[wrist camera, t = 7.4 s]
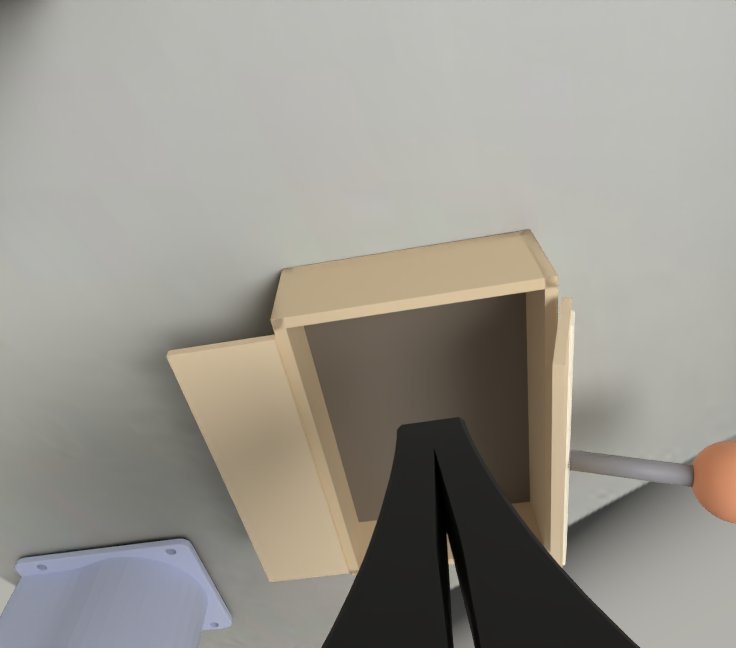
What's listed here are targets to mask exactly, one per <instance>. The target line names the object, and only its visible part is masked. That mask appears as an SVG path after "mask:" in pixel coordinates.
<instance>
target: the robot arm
mask: <svg viewBox="0 0 736 648" xmlns="http://www.w3.org/2000/svg"><path fill="white" fill-rule="evenodd" d="M447 535H448V539H449V543H450V547H451V551H452V555H453V559H454V563H455V568H456V572H457V576H458V580H459V584H460V588H461V592H462V596H463V600H464V604H465V608H466V612H467V616H468V620H469V624H470V628H471V632H472V636H473V641H474V646H475V648H640V647H639V646H638V645H637V644H635V643H634V642H633V641H632V640H631V639H630V638H629V637H628V636H627V635H626V634H625V633H624V632H623V631H622V630H621V629H620V628H619V627H618V626H617V625H616V624H615V623H614V622H613V621H612V620H611V619H610V618H609V617H608V616H607V615H606V614H605V613H604V612H603V611H602V610H601V609H600V608H599V607H598V606H597V605H596V604H595V603H594V602H593V601H592V600H591V599H590V598H589V597H588V596H587V595H586V594H585V593H584V592H583V591H582V590H581V589H580V587H579V586H578V585H577V584H576V583H575V582H574V581H573V580H572V579H571V578H570V576H569V575H568V574H567V573H566V572H565V571H564V570H563V569H562V567H561V566H560V565H559V564H558V563H557V562H556V560H555V559H554V558H553V557H552V556H551V555H550V553H549V552H548V551H547V550H546V549H545V547H544V546H543V545H542V544H541V542H540V541H539V540H538V539H537V537H536V536H535V535H534V534H533V532H532V531H531V530H530V528H529V527H528V526H527V524H526V523H525V522H524V520H523V519H522V518H521V516H520V515H519V514H518V512H517V511H516V510H515V508H514V507H513V505H512V504H511V503H510V501H509V500H508V498H507V497H506V495H505V494H504V492H503V491H502V489H501V488H500V486H499V485H498V483H497V482H496V480H495V479H494V477H493V475H492V474H491V472H490V471H489V469H488V467H487V466H486V464H485V462H484V460H483V459H482V457H481V455H480V453H479V452H478V450H477V448H476V446H475V444H474V442H473V440H472V438H471V436H470V433H469V431H468V429H467V426H466V423H465V420H463V419H461V418H460V417H455V418H447V419H440V420H432V421H425V422H418V423H410V424H403V425H401V426H400V427H399V428H398V429H397V439H396V447H395V454H394V460H393V465H392V469H391V474H390V478H389V482H388V486H387V489H386V493H385V497H384V500H383V504H382V507H381V511H380V514H379V517H378V520H377V523H376V526H375V528H374V531H373V534H372V537H371V540H370V543H369V546H368V548H367V551H366V554H365V556H364V559H363V561H362V564H361V566H360V569H359V571H358V573H357V576H356V578H355V580H354V583H353V585H352V587H351V589H350V592H349V594H348V596H347V598H346V600H345V602H344V604H343V606H342V608H341V610H340V612H339V615H338V617H337V619H336V621H335V623H334V625H333V627H332V629H331V631H330V633H329V634H328V636H327V638H326V640H325V642H324V644H323V646H322V647H321V648H454V647H453V635H452V617H451V599H450V581H449V564H448V546H447ZM14 568H15V570H16V571H17V573H18V574H19V575H20V576H21V579H20V580H19V582H18V584H17V586H16V588H15V590H14V592H13V594H12V596H11V597H10V599H9V601H8V603H7V605H6V607H5V609H4V610H3V612H2V614H1V616H0V648H198V645H199V641H200V636H201V632H202V631H203V630H212V629H221V628H228V627H229V626H231V624H232V616H231V614H230V612H229V611H228V609H227V607H226V605H225V603H224V602H223V600H222V598H221V596H220V594H219V592H218V591H217V589H216V587H215V585H214V583H213V582H212V580H211V578H210V576H209V574H208V573H207V571H206V569H205V567H204V565H203V564H202V562H201V560H200V558H199V556H198V555H197V553H196V551H195V549H194V547H193V546H192V544H191V543H190V542H189V541H188V540H186V539H172V540H164V541H155V542H147V543H139V544H131V545H123V546H115V547H107V548H99V549H90V550H82V551H74V552H66V553H58V554H50V555H42V556H34V557H25V558H21V559H19V560H18V561H17V562H16V564H15V567H14Z"/></svg>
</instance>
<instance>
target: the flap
mask: <svg viewBox="0 0 736 648" xmlns="http://www.w3.org/2000/svg"><path fill="white" fill-rule="evenodd" d="M574 324H575V311H572V298H567V297H562V298H561V306H560V313H559V321H558V328H557V335H556V343H555V350H554V358H553V369H552V460H551V551H550V555H551V556H552V557H553V558H554V559H555V560H556V562H557V563H558V564H559V565H560V566H561V567H562V569H563V565H565V559H566V545H567V518H568V491H569V463H570V470H573V471H581V472H588V473H595V474H602V475H610V476H617V477H624V478H631V479H639V480H646V481H653V482H661V483H668V484H675V485H682V486H690V487H692V490H693V492H694V494H695V496H696V498H697V499H698V501H699V502H700V504H701V505H702V506H703V507H704V508H705V509H706V510H707V511H709V512H710V513H711V514H713V515H714V516H716V517H718V518H720V519H722V520H725V521H728V522H731V523H735V524H736V441H723V442H718V443H715V444H712V445H710V446H708V447H706V448H705V449H704V450H702V451H701V452H700V453H699V454H698V455H697V457H696V458H695V460H694V462H693V464H692V465H687V464H679V463H671V462H663V461H655V460H647V459H639V458H631V457H623V456H615V455H607V454H599V453H591V452H583V451H575V450H571V458H570V435H571V408H572V380H573V352H574Z"/></svg>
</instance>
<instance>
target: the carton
mask: <svg viewBox="0 0 736 648" xmlns="http://www.w3.org/2000/svg"><path fill="white" fill-rule="evenodd" d="M270 320H271V324H272V327H273V330H274V333H275V335H268V336H262V337H255V338H248V339H242V340H235V341H228V342H222V343H215V344H209V345H202V346H195V347H189V348H182V349H176V350H169V351H168V353H167V355H166V357H167V359H168V361H169V363H170V365H171V368H172V370H173V372H174V374H175V376H176V379H177V381H178V383H179V385H180V387H181V389H182V392H183V394H184V396H185V398H186V400H187V403H188V405H189V407H190V409H191V411H192V413H193V416H194V418H195V420H196V422H197V424H198V427H199V429H200V431H201V433H202V435H203V437H204V440H205V442H206V444H207V446H208V448H209V451H210V453H211V455H212V457H213V459H214V461H215V464H216V466H217V468H218V470H219V472H220V474H221V477H222V479H223V481H224V483H225V485H226V488H227V490H228V492H229V494H230V496H231V498H232V501H233V503H234V505H235V507H236V509H237V512H238V514H239V516H240V518H241V520H242V522H243V525H244V527H245V529H246V531H247V533H248V536H249V538H250V540H251V542H252V544H253V546H254V549H255V551H256V553H257V555H258V557H259V560H260V562H261V564H262V566H263V568H264V570H265V573H266V575H267V577H268V579H269V581H270V582H277V581H286V580H294V579H303V578H312V577H320V576H329V575H338V574H347V573H349V569H350V572H351V575H352V576H355V575H357V573H358V571H359V569H360V566H361V564H362V561H363V559H364V556H365V554H366V551H367V548H368V546H369V543H370V540H371V537H372V534H373V531H374V528H375V526H376V523H377V520H378V517H379V514H380V511H381V507H382V504H383V500H384V497H385V493H386V489H387V486H388V482H389V478H390V474H391V469H392V465H393V460H394V454H395V447H396V439H397V429H398V428H399V427H400V426H401V425H403V424H410V423H418V422H425V421H432V420H440V419H447V418H455V417H460V418H461V419H463V420H465V423H466V426H467V429H468V431H469V433H470V436H471V438H472V440H473V442H474V444H475V446H476V448H477V450H478V452H479V453H480V455H481V457H482V459H483V460H484V462H485V464H486V466H487V467H488V469H489V471H490V472H491V474H492V475H493V477H494V479H495V480H496V482H497V483H498V485H499V486H500V488H501V489H502V491H503V492H504V494H505V495H506V497H507V498H508V500H509V501H510V503H511V504H512V505H513V507H514V508H515V510H516V511H517V512H518V514H519V515H520V516H521V518H522V519H523V520H524V522H525V523H526V524H527V526H528V527H529V528H530V530H531V531H532V532H533V534H534V535H535V536H536V537H537V539H538V540H539V541H540V542H541V544H542V545H543V546H544V547H545V549H546V550H547V551H548V552H549V553H550V551H551V460H552V369H553V358H554V350H555V343H556V335H557V326H558V274H557V273H556V271H555V270H554V268H553V266H552V265H551V263H550V261H549V260H548V258H547V256H546V255H545V253H544V251H543V250H542V248H541V246H540V245H539V243H538V242H537V240H536V238H535V237H534V235H533V233H532V232H531V230H523V231H517V232H511V233H505V234H498V235H492V236H486V237H480V238H473V239H467V240H461V241H455V242H449V243H442V244H436V245H430V246H424V247H417V248H411V249H405V250H399V251H392V252H386V253H380V254H374V255H368V256H361V257H355V258H349V259H343V260H336V261H330V262H324V263H318V264H311V265H305V266H299V267H293V268H287V269H282V272H281V277H280V281H279V285H278V289H277V294H276V298H275V302H274V306H273V311H272V315H271V319H270ZM447 546H448V564H449V565H451V564H455V563H454V559H453V555H452V551H451V547H450V543H449V539H448V535H447Z"/></svg>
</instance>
